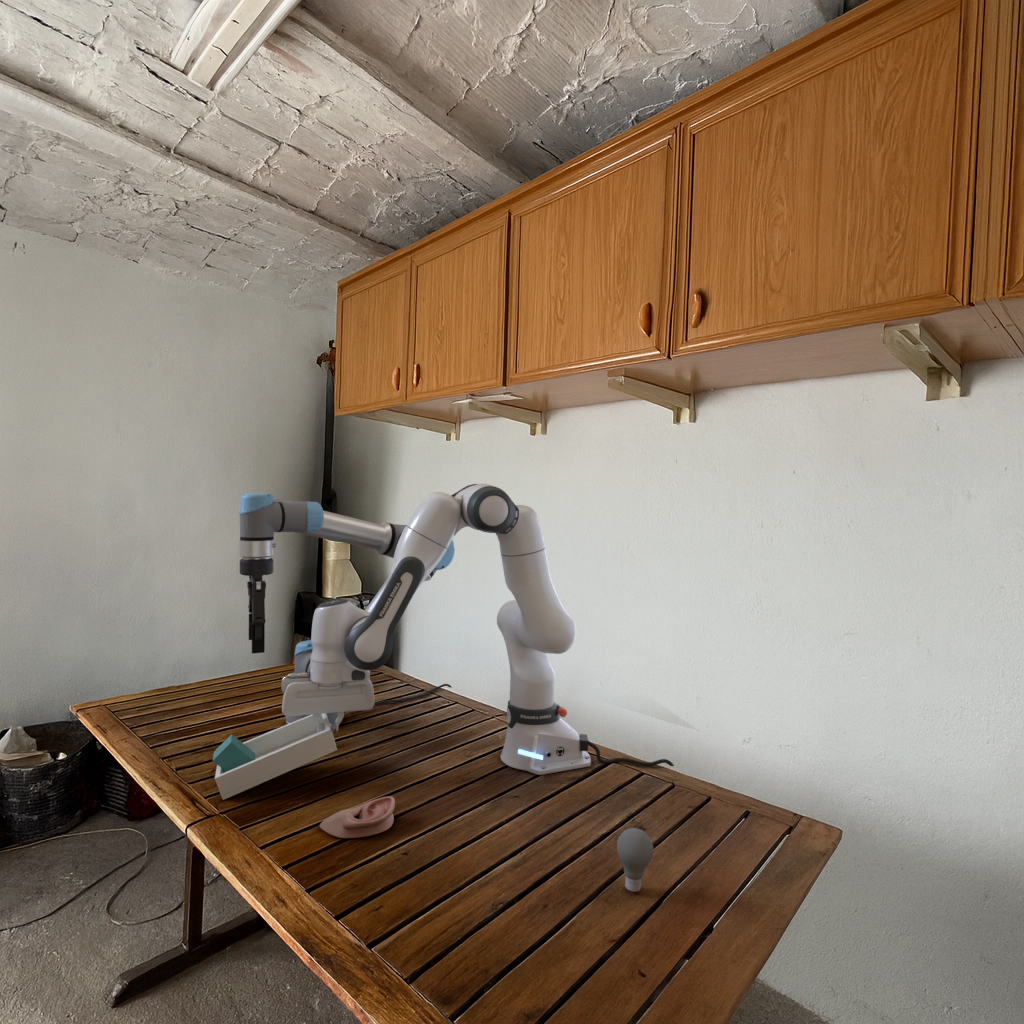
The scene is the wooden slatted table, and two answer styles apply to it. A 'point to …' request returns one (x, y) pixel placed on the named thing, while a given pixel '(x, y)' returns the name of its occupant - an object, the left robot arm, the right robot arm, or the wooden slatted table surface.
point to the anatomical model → (361, 819)
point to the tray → (278, 754)
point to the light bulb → (634, 856)
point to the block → (232, 754)
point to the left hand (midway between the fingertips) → (256, 645)
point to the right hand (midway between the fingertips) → (327, 731)
